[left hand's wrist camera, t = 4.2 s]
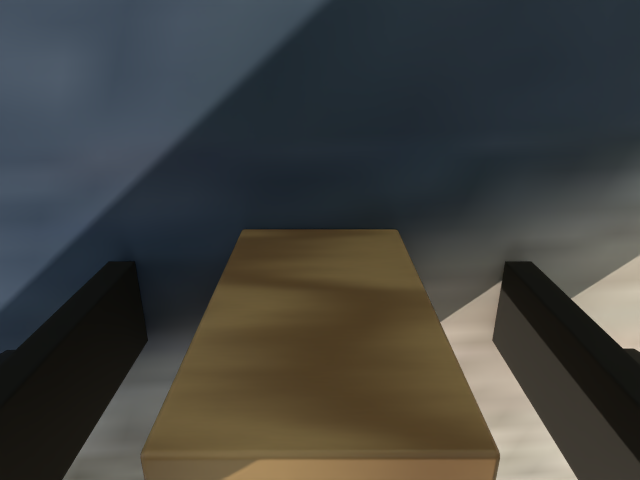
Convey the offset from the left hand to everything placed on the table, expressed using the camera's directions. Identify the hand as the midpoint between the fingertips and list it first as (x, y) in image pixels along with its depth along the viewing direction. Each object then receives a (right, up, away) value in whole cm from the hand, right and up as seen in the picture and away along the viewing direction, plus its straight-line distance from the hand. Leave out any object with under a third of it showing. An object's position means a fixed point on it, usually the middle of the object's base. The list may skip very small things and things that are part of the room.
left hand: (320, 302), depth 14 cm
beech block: (0, 0, 0) cm, 0 cm away
